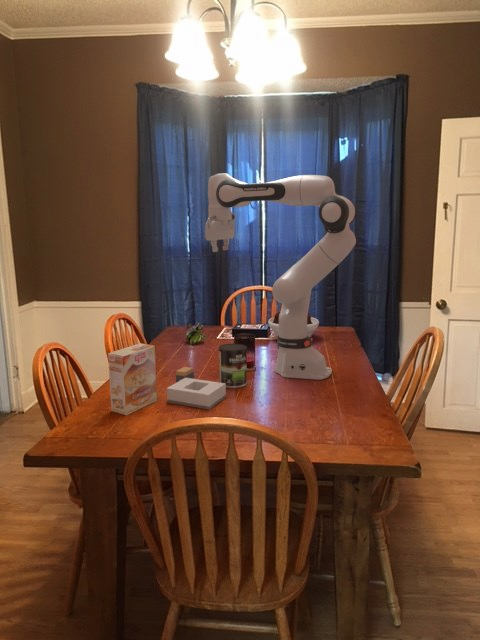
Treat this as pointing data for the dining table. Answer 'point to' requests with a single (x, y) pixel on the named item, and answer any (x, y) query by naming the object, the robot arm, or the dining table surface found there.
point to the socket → (196, 393)
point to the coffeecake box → (132, 378)
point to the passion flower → (192, 336)
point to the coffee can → (233, 365)
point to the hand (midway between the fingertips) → (220, 251)
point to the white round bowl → (311, 324)
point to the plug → (184, 373)
